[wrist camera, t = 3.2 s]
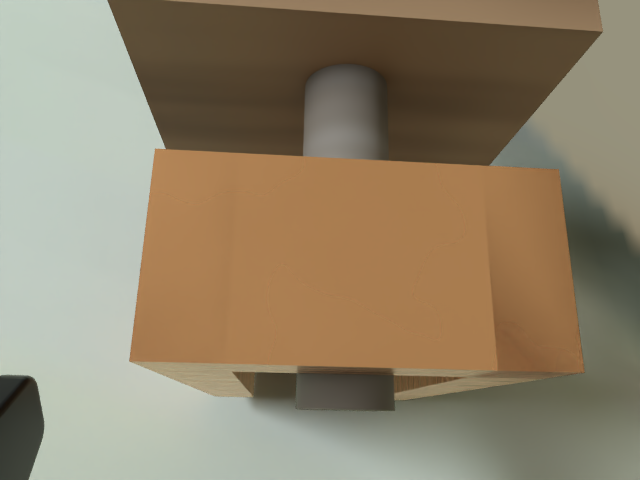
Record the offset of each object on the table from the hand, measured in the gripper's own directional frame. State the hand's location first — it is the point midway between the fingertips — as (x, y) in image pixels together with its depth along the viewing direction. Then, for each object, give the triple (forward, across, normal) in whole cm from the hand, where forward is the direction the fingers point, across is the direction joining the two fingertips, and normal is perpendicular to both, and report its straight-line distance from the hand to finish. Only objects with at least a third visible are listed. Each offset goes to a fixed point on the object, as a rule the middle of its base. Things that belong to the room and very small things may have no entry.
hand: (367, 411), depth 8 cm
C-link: (+9, 0, +6) cm, 11 cm away
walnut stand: (+11, 0, +5) cm, 12 cm away
